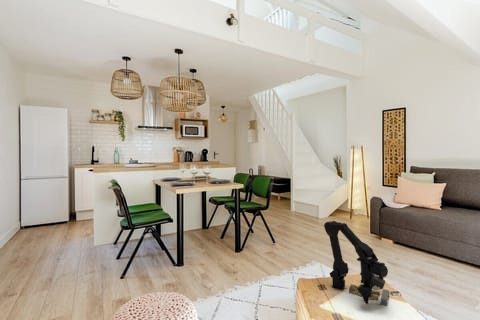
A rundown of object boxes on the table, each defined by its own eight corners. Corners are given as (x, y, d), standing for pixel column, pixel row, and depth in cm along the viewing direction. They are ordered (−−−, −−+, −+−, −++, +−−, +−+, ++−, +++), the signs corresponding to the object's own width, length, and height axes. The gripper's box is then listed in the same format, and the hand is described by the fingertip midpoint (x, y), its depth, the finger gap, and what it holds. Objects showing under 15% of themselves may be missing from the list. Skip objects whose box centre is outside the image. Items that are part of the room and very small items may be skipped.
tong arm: (349, 293, 148) (349, 286, 148) (350, 291, 149) (350, 285, 149) (378, 300, 139) (378, 293, 139) (378, 299, 141) (378, 292, 141)
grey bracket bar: (380, 304, 135) (380, 298, 135) (383, 294, 145) (383, 289, 145) (387, 306, 134) (387, 300, 134) (389, 296, 143) (389, 290, 143)
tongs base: (348, 293, 148) (348, 288, 148) (351, 288, 153) (351, 284, 153) (378, 300, 139) (378, 296, 139) (379, 295, 145) (379, 290, 145)
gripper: (381, 280, 126) (383, 312, 125) (385, 267, 141) (387, 296, 141) (356, 275, 132) (358, 306, 132) (363, 264, 148) (365, 291, 147)
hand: (368, 300), depth 138 cm, fingers open, 8 cm apart
